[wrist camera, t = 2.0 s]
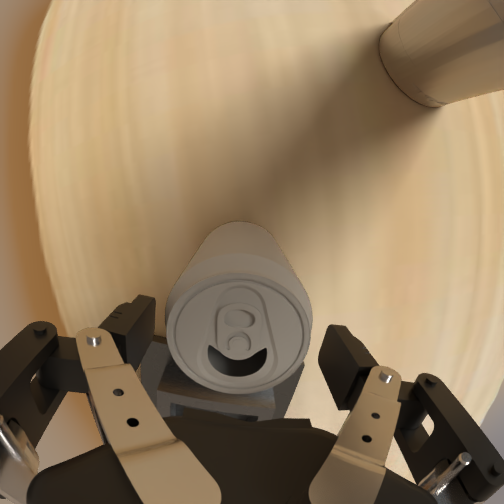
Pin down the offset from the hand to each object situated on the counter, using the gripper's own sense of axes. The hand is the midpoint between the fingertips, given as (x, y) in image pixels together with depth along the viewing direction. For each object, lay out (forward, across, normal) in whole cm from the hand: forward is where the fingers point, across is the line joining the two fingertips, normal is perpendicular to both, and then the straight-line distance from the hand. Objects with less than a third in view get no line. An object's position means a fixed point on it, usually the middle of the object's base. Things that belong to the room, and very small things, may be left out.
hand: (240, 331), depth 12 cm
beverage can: (+10, 0, -1) cm, 10 cm away
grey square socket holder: (+10, 0, +15) cm, 19 cm away
